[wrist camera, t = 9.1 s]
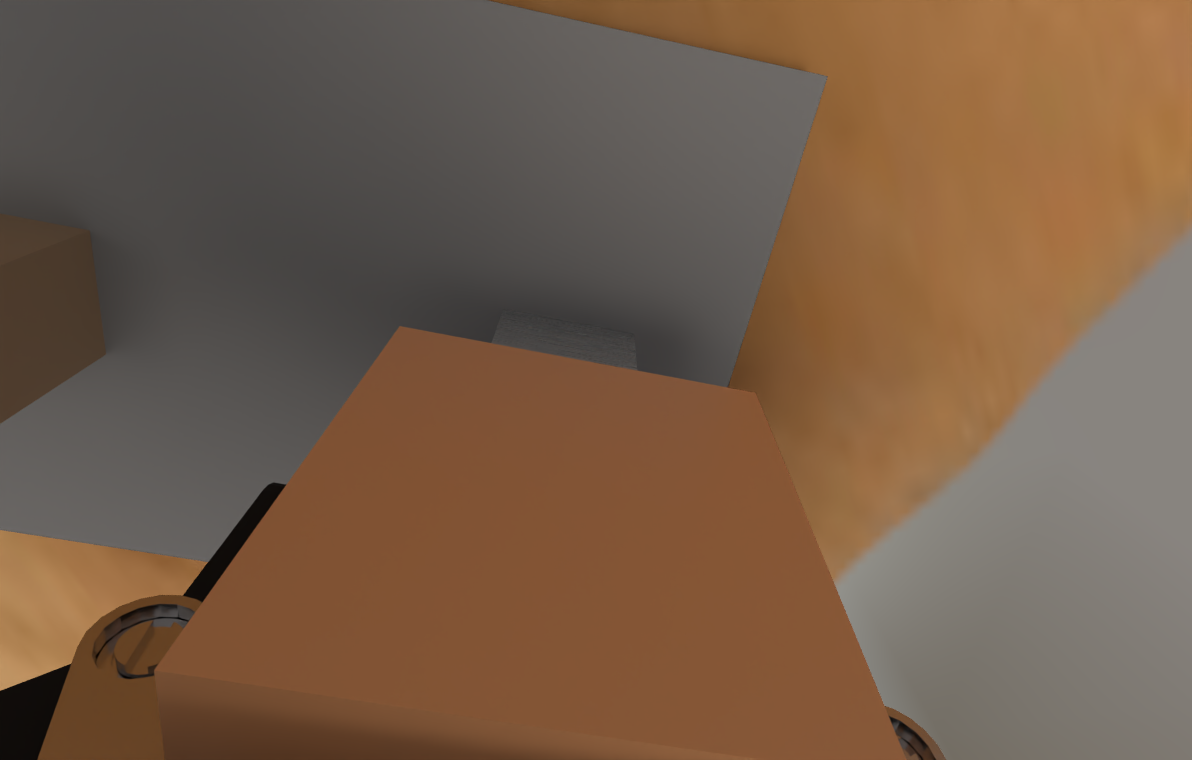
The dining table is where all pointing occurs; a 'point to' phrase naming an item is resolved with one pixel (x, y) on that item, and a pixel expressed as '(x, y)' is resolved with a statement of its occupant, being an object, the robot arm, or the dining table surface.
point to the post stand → (340, 226)
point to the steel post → (566, 339)
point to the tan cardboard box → (527, 582)
